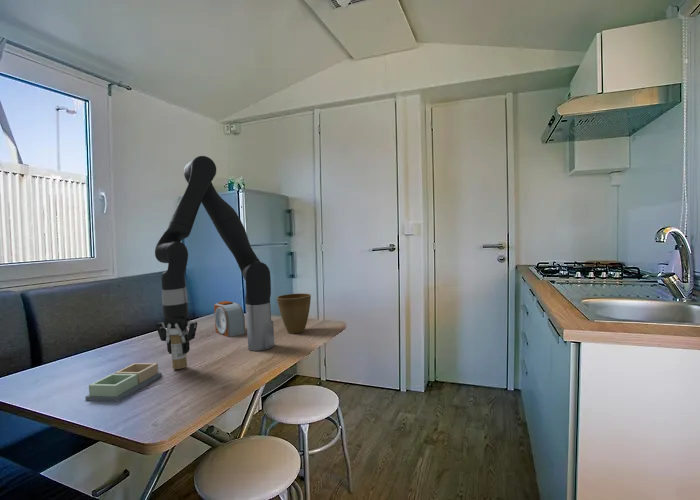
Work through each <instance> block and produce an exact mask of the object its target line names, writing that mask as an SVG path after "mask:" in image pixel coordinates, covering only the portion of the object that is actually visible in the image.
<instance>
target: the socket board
mask: <svg viewBox="0 0 700 500" xmlns="http://www.w3.org/2000/svg"><path fill="white" fill-rule="evenodd" d="M158 364H159V363H154V362H153V363H151V362H149V363H146V362H145V363H144V362H141V363H139V362H136V363H135V362H134V363H131V364H129V365H128V366H126V367H123V368H122V369H119V370H118V371H115V372H113V373H111V374H109V375H107V376H104V377H103V378H100V379H99V380H97V381H94V382H93V383H90V384H88V392H89V394H88V395H86V396H84V397H85V400H86V401H104V402H105V401H107V402H111V401H112V402H119V401H121V400H122V399H124V398H126V397H128V396H130V395H131V394H133V393H134V392H136V391H138V390H139V389H141V388H143V387H145V386H146V385H148V384H150V383H151V382H153V381H155V380H157V379H158V378H160V377H161V376H163V375H162V374H163V373H162V372H161V371H160V372H159V365H158Z"/></svg>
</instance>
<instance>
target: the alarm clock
mask: <svg viewBox="0 0 700 500" xmlns="http://www.w3.org/2000/svg"><path fill="white" fill-rule="evenodd" d="M213 310H214V326H215V330H214V331H215V333H216V334H220V335H223V336H225V337H227V338H230V337H231V338H232V337H235V336H238V335H243V334H247V331H246V317H245V313H244V312H245V311H244V310H243V308H242V306H241V304H239V303H237V302H234V301H227V300H223V301H218V302H217V303H214V304H213Z"/></svg>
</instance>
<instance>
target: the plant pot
mask: <svg viewBox="0 0 700 500" xmlns="http://www.w3.org/2000/svg"><path fill="white" fill-rule="evenodd" d="M311 297H312V294H310V293H300V292H299V293H289V294H283V295H278V296H277V297H276V300H277V305H278V309H279V310H278V311H279V313H280V316H281V319H282V322H283V324H284V327H285V329H286V331H287V333H288V334H292V333H293V334H294V333H295V334H301V333H303V331H304V332H305V330H306V326H307V323H308V318H309V314H310V309H311V308H310V307H311ZM295 334H294V335H295Z"/></svg>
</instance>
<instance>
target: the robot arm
mask: <svg viewBox="0 0 700 500" xmlns="http://www.w3.org/2000/svg"><path fill="white" fill-rule="evenodd" d="M216 175H217V165H216V163H215V162H214V160H213V159H212V158H210V157H208V156H205V155H198V156H196V157H194V158H193V159H191V160H190V161H189V162H187V163H186V165H185V166H184V168H183V176H184V179H185V181H186V182H187V186H186V188H185V191H184V193H183V194H182V196H181V198H180V199H179V201H178V203H177V205H176V207H175V209H174V211H173V213H172V215H171V218H170V221H169V223H168V224H169V225H168V227H167V228H166V230H165V231H164V232H163V234H162V235H161V237H160V238H159V239H158V242H157V243H156V245H155V248H154V257H155V258H156V260H157V261H158V262H159V263H163V264H168V265H167V270H166V271H163V272H162V273H161V276H160V277H161V278H160V280H161V281H160V282H161V303H162V316H163V318H164V319H163V321H162V322H159V323H156V324H155V327H156V330H157V333H158V335H159V339H160V342H165V343H166V349H167V352H168V354H169V355H172V352H171V336H170V329H172V328H176V329H178V334H179V336H180V337H181V339H182V342H183V343H182V349H183V354H186V355H187V354H188V353H189V351H190V347H191V346H190V342H191V341H192V340H194V339H195V337H196V332H197V328H198V321H190V319H189V305H188V292H187V287H186V277H185V275H186V271H187V265H188V260H189V251H188V249H187V246H186V245H185V243H183V242H182V241H183V240H184V239H187V238H189V236H190V234H191V232H192V231H193V230H192V229H193V226H194V223H195V221H196V217H197V214H198V212H199V209H200V207H201V205H202V206H203V209H204V210H205V211H206V214H207V215H208V216H209V219H210V220H211V221H212V223H213V225H214V228H215V229H216V231H217V233H218V235H219V236H220V237H221V239H222V241H223V242H224V244H225V245H226V247H227V248H228V250H229V251H230V252H231V255H233V257H234V259H235V261H236V263H237V265H238V268H239V270H240V272H241V275H242V277H243V279H244V281H245V291H246V292H245V297H244V298H245V299H244V301H245V315H246V317H245V322H246V335H247V349H248V350H249V351H253V352H254V351H264V350H270V349H272V348H273V347H274V346H275V329H274V321H273V320H272V312H271V296H272V295H271V294H272V286H271V284H272V280H271V271H270V268H269V266H268V265H267V264H266V263H264V262H263V261H261V260H260V259H259V258H258V256H257V255H256V253H255V252H254V250H253V248H252V246H251V244H250V241H249V238H248V234H247V230H246V228H245V226H244V224H243V222H242V220H241V218H240V216H239V215H238V213H237V211H236V210H235V209H234V208H233V207H232V206H231V205H230V204H229V203H228V202H227V201H226V200H225V199H224V198H222V197H221V196H220V195H219V193H218V191H217V190H216V187H215V186H214V184H213V182H212V181H213V180H214V179H215V177H216ZM183 331H185V332H184V333H183Z"/></svg>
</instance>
